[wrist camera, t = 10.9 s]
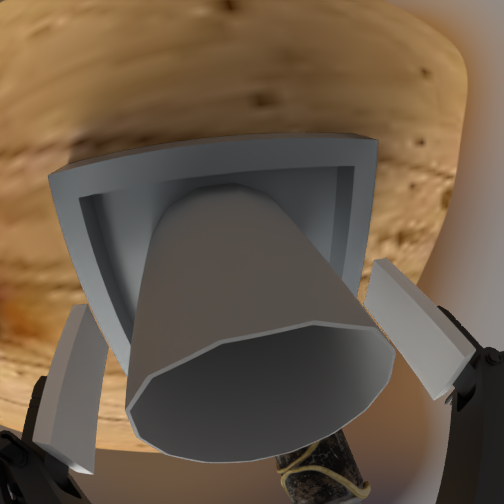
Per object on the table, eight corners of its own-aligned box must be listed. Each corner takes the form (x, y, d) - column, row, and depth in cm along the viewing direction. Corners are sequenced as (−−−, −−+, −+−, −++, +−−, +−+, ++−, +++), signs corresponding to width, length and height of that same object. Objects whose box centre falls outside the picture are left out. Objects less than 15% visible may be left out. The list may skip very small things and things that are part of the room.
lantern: (300, 428, 32) (360, 578, 10) (248, 428, 28) (304, 604, 7) (342, 392, 29) (424, 560, 7) (289, 389, 25) (373, 601, 4)
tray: (158, 404, 23) (159, 425, 21) (66, 164, 12) (47, 175, 10) (320, 375, 25) (329, 394, 23) (354, 133, 14) (378, 140, 12)
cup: (296, 175, 14) (431, 285, 6) (294, 298, 19) (361, 428, 10) (133, 198, 13) (68, 356, 5) (167, 320, 17) (173, 470, 9)
